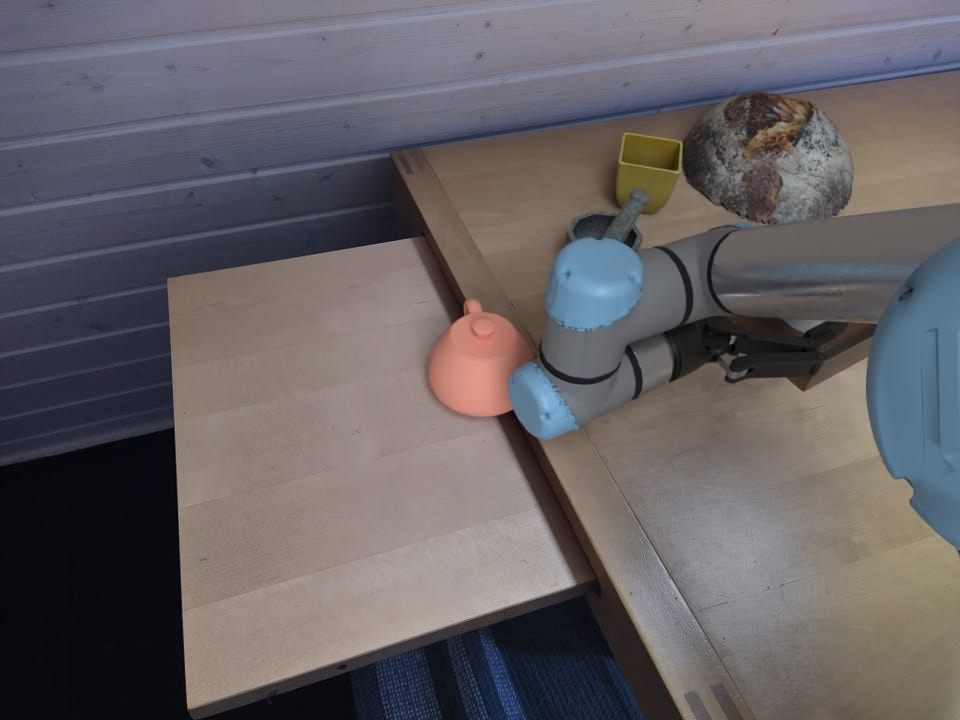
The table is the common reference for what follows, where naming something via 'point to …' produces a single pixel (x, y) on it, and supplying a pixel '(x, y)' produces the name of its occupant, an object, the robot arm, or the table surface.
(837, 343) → the brown wooden tray
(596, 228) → the mortar and pestle
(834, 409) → the table surface
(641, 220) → the table surface
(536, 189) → the table surface
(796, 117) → the bread
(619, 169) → the flower pot
